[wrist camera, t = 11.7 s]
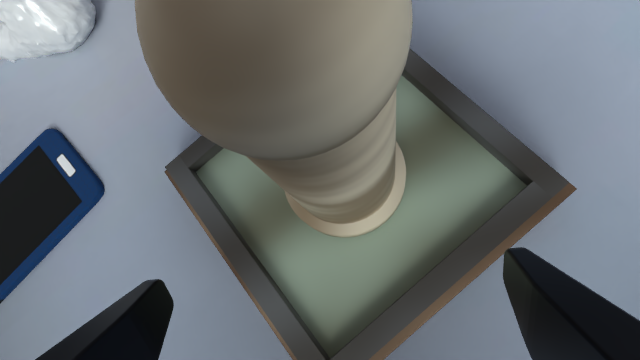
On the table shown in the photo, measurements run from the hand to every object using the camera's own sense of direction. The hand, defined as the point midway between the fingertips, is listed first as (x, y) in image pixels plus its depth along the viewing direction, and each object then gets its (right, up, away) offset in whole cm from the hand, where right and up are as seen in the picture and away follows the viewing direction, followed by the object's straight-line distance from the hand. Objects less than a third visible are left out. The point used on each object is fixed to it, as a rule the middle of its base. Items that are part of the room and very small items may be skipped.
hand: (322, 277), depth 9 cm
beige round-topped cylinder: (+1, +3, +9) cm, 9 cm away
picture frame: (+2, +2, +11) cm, 11 cm away
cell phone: (-21, -1, +15) cm, 26 cm away
